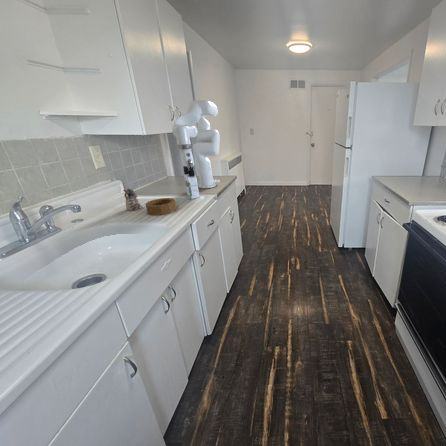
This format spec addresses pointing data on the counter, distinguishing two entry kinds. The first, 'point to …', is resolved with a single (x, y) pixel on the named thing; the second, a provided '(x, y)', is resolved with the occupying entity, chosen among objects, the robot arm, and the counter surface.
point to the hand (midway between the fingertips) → (189, 175)
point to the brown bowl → (161, 206)
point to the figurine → (131, 200)
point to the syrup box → (191, 186)
